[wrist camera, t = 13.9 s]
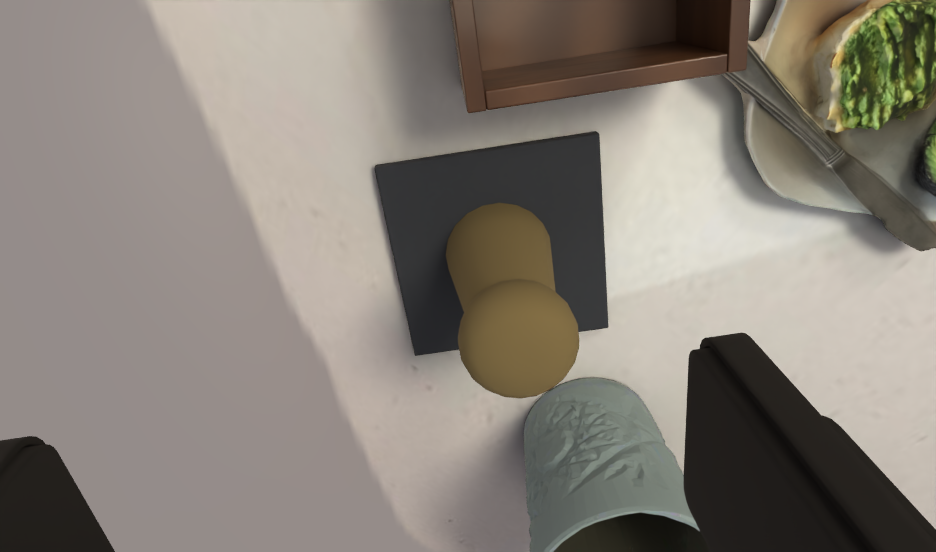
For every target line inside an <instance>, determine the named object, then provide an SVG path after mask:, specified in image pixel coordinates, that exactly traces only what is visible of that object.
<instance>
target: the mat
mask: <svg viewBox="0 0 936 552" xmlns="http://www.w3.org/2000/svg"><path fill="white" fill-rule="evenodd" d="M375 173H376V178H377V182H378V187H379V192H380V196H381V201H382V205H383V210H384V215H385V219H386V224H387V229H388V233H389V238H390V242H391V247H392V252H393V256H394V261H395V266H396V270H397V275H398V279H399V284H400V289H401V293H402V298H403V303H404V307H405V312H406V316H407V321H408V326H409V330H410V335H411V340H412V344H413V349H414V353H415V356H417V355H424V354H431V353H438V352H445V351H451V350H458V349H459V346H458V333H459V327H460V322H461V319H462V317H463V314H464V311H463V308H462V305H461V302H460V300H459V297H458V294H457V291H456V289H455V286H454V283H453V280H452V277H451V275H450V272H449V269H448V264H447V259H446V249H447V242H448V238H449V236H450V234H451V232H452V231H453V229H454V227H455V225H456V224H457V223H458V222H459V221H460V220H461V219H462V218H463V217H464V216H465V215H466V214H467V213H469V212H471V211H473V210H475V209H477V208H479V207H481V206H484V205H489V204H495V203H505V204H513V205H518V206H520V207H522V208H524V209H526V210H528V211H530V212H532V213H533V214H534V215H535V216H536V217H537V218H538V219H539V220H540V221H541V222H542V223H543V224H544V226H545V228H546V230H547V232H548V235H549V237H550V244H551V253H552V263H553V272H554V282H555V292H556V293H557V294H558V295H559V296H560V297H561V298H563V299H564V300H565V301H566V302H567V303H568V305H569V307H570V309H571V311H572V313H573V315H574V317H575V319H576V322H577V324H578V332H582V331H589V330H595V329H602V328H608V311H607V290H606V268H605V247H604V226H603V205H602V184H601V163H600V142H599V133H598V132H596V131H595V132H589V133H582V134H576V135H569V136H563V137H556V138H550V139H543V140H537V141H530V142H523V143H517V144H510V145H504V146H497V147H491V148H484V149H478V150H471V151H465V152H458V153H452V154H445V155H438V156H432V157H425V158H419V159H412V160H406V161H399V162H393V163H386V164H380V165H376V166H375Z"/></svg>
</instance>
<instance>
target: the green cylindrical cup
mask: <svg viewBox="0 0 936 552" xmlns="http://www.w3.org/2000/svg"><path fill="white" fill-rule="evenodd" d="M524 454H525V468H526V490H527V497H526V498H527V508H528V514H529V516H530V520H531V525H530V528H529V532H530V536H531V542H530V552H710V550H709V548H708V546H707V544H706V542H705V540H704V538H703V536H702V534H701V532H700V530H699V528H698V526H697V524H696V522H695V520H694V518H693V516H692V514H691V512H690V510H689V507H688V505H687V502H686V498H685V494H684V484H683V482H684V475H683V473H682V471H681V469H680V467H679V466H678V463H677V460H676V458H675V456H674V454H673V453H672V452H671V451H670V449H669V448H668V447H667V446H666V445H665V441H664V439H663V437H662V434H661V432H660V430H659V428H658V426H657V424H656V422H655V421H654V419H653V417H652V415H651V414H650V412H649V410H648V409H647V407H646V405H645V404H644V402H643V401H642V399H641V398H640V397H639V396H638V395H637V394H636V393H635V392H633V391H632V390H631V389H629V388H628V387H626V386H624V385H623V384H621V383H618V382H616V381H613V380H608V379H604V378H583V379H577V380H573V381H569V382H566V383H564V384H561V385H559V386H557V387H555V388H554V389H552V390H550V391H549V392H547V393H546V394H544V395H543V396H542V397H541V398H540V399H539V400H538V401H537V402H536V403H535V405H534V406H533V407H532V409H531V411H530V413H529V415H528V417H527V419H526V422H525V427H524Z"/></svg>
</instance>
